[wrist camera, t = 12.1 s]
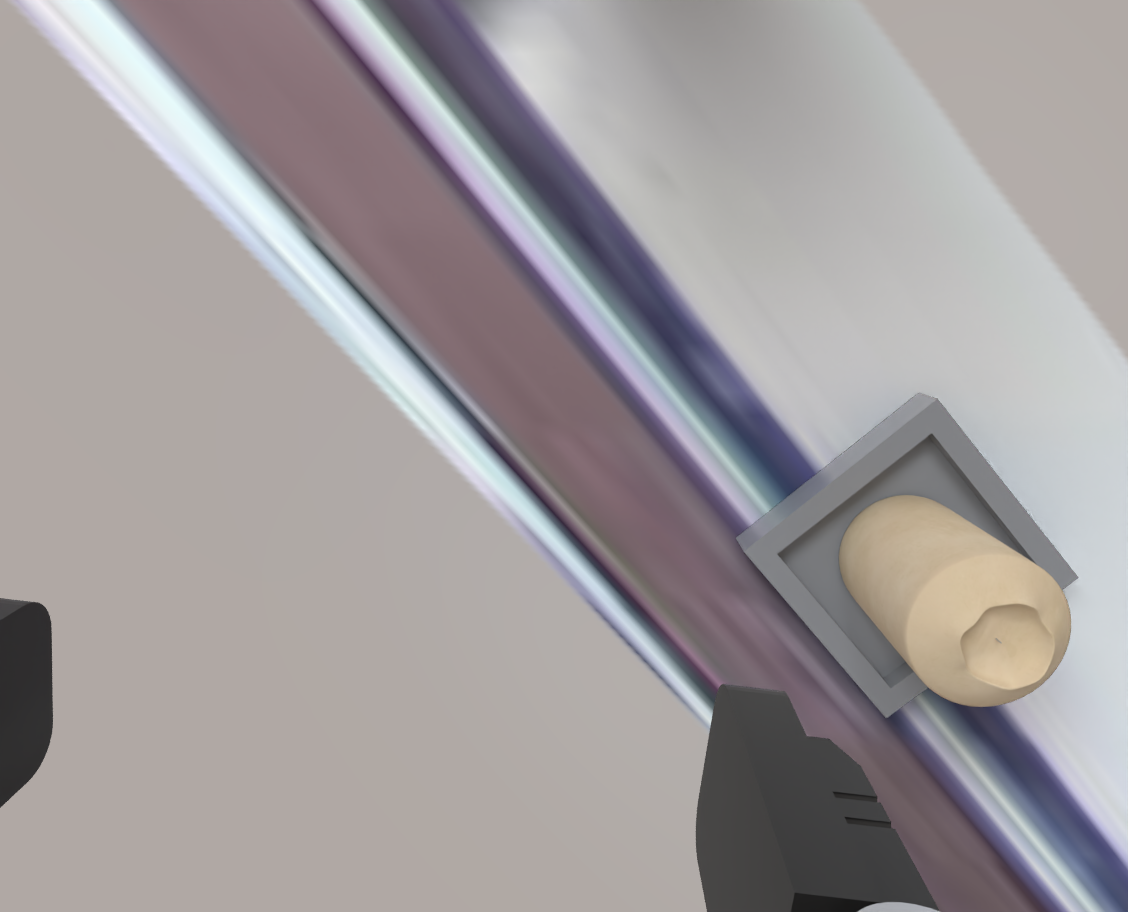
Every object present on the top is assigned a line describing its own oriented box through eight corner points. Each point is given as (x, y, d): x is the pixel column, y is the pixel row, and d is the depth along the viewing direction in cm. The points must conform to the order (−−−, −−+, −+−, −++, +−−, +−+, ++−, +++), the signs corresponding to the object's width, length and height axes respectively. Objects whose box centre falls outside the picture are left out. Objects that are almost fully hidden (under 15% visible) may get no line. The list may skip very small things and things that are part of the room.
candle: (815, 588, 38) (892, 692, 29) (870, 473, 37) (969, 542, 28) (930, 633, 39) (1045, 752, 29) (988, 520, 38) (1127, 605, 28)
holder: (735, 537, 39) (743, 551, 37) (919, 392, 38) (937, 398, 36) (871, 697, 40) (886, 718, 38) (1053, 562, 39) (1078, 577, 37)
